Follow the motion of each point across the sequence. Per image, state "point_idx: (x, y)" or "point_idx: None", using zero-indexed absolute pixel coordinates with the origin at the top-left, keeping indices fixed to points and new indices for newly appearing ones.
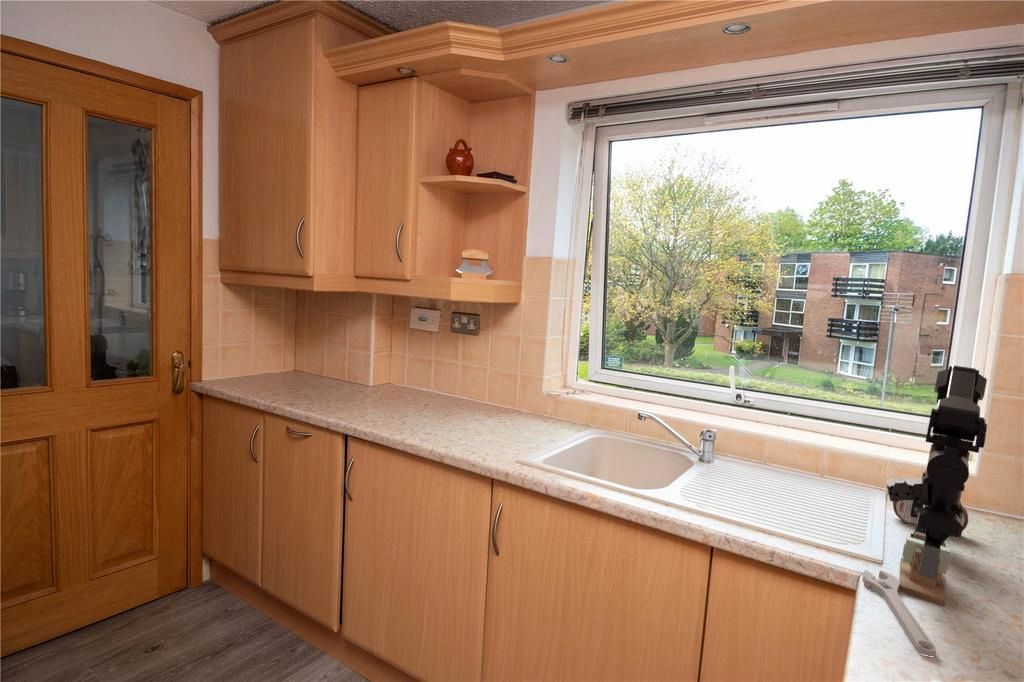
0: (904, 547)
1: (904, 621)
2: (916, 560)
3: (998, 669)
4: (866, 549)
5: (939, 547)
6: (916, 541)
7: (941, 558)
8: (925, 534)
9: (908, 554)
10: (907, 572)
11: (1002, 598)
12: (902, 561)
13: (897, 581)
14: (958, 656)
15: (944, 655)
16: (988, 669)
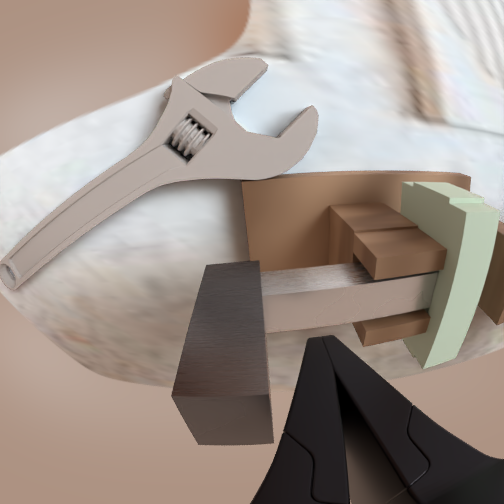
0: (438, 194)
1: (32, 232)
2: (359, 246)
3: (81, 359)
4: (473, 86)
5: (222, 443)
6: (468, 256)
7: None
8: (360, 408)
9: (421, 207)
10: (382, 195)
11: (400, 365)
12: (451, 179)
13: (265, 170)
14: (53, 315)
15: (35, 296)
16: (66, 348)
